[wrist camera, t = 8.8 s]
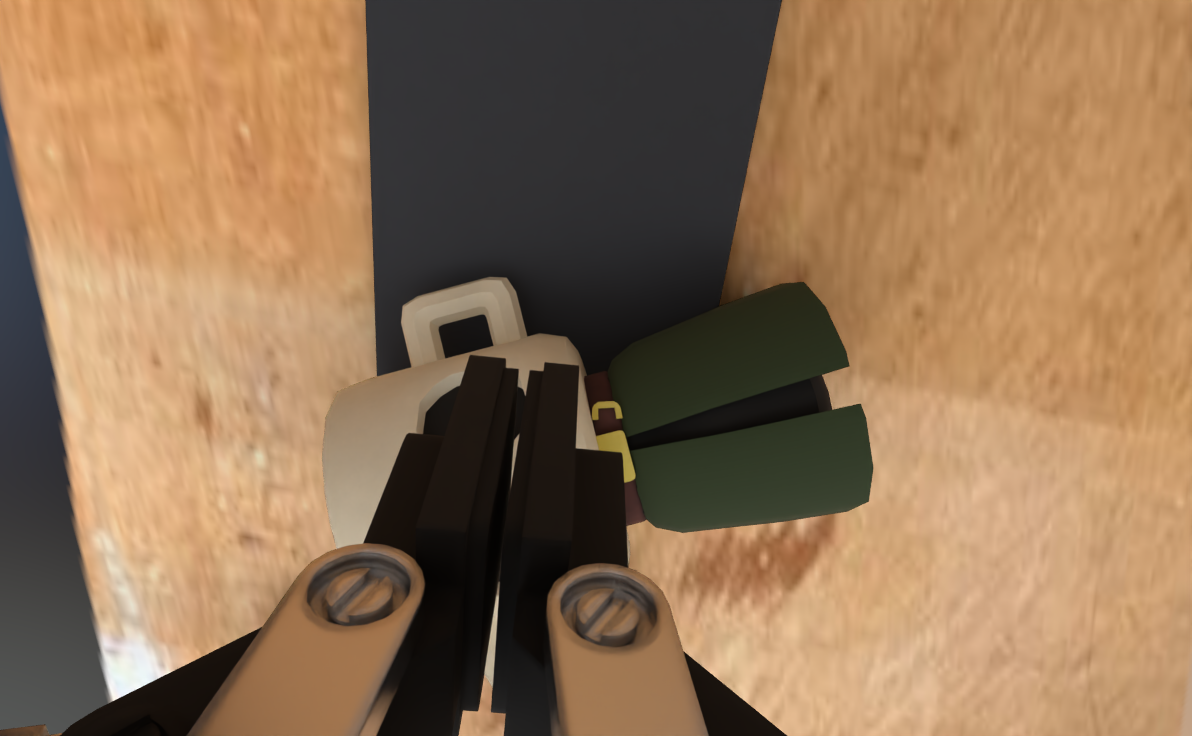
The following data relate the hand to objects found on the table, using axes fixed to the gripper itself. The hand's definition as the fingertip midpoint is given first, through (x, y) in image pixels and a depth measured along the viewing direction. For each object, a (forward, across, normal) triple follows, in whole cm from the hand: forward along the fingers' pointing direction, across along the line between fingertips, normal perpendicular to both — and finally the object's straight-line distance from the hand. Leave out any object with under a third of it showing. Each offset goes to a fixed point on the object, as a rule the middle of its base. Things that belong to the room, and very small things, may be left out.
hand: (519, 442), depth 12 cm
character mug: (+8, -8, +3) cm, 12 cm away
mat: (+11, 0, 0) cm, 11 cm away
